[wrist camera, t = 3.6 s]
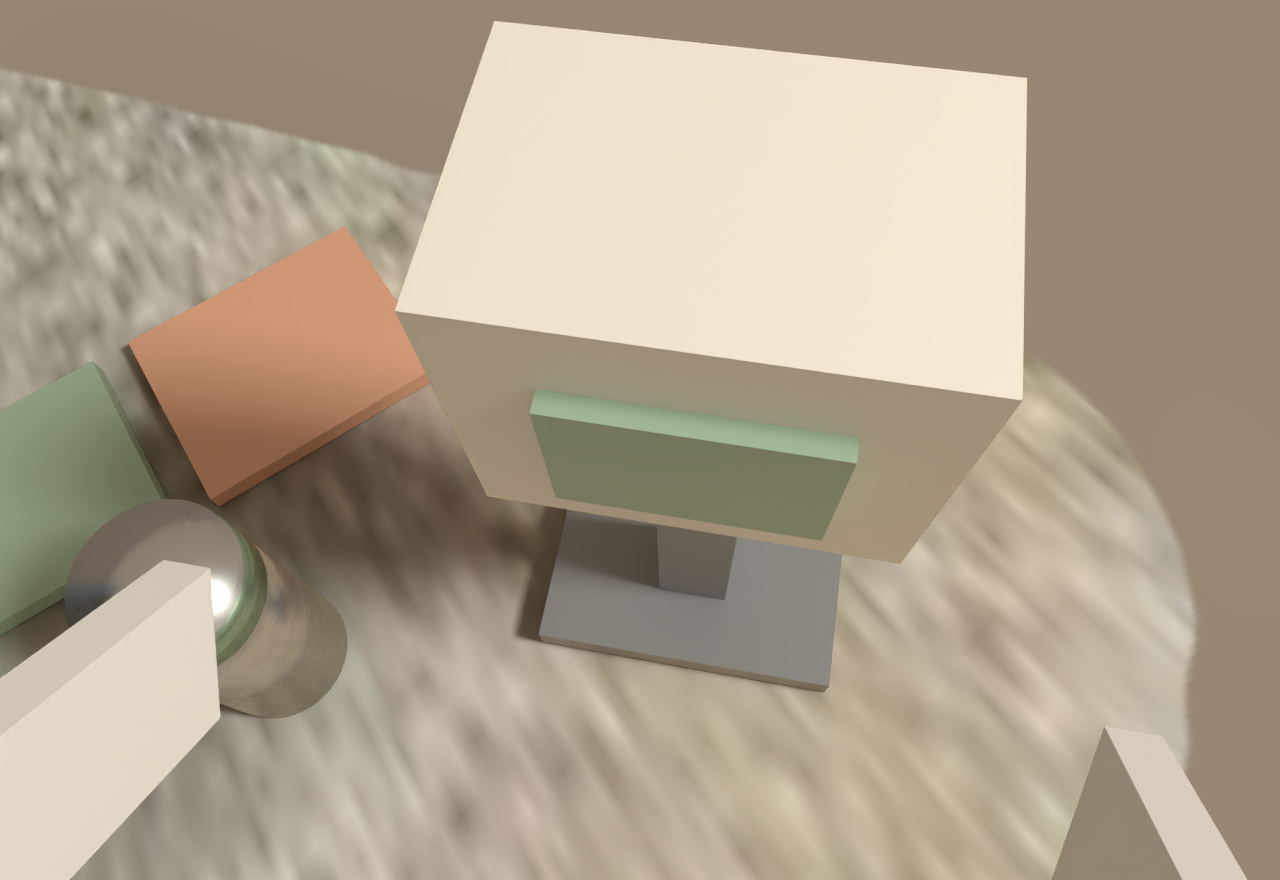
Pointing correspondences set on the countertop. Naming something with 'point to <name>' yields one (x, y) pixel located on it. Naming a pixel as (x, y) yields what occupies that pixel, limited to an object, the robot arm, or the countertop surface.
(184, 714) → the robot arm
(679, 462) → the mounted unit
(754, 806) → the countertop surface
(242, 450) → the terracotta tile
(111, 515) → the green tile
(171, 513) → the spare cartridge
